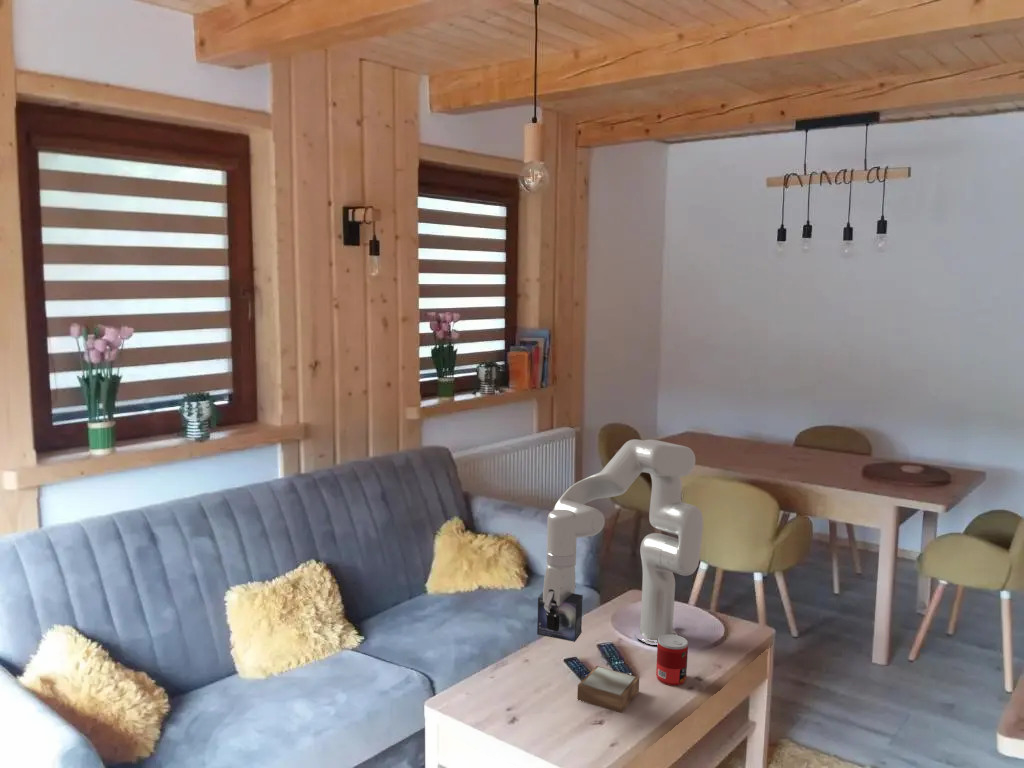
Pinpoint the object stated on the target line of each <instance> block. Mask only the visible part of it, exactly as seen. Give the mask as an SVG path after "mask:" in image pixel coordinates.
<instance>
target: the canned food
mask: <svg viewBox="0 0 1024 768" xmlns="http://www.w3.org/2000/svg"><path fill="white" fill-rule="evenodd" d="M656 647H657V649H656V669H655V671H656V673H655V674H656V675H655V676H656V679H657V680H658V681H659V682H660V683H661V684H664V685H667V686H675V687H676V686H681V685H683V684H684V683H685V682H686V680H687V673H688V672H687V667H688V654H689V653H688V651H689V641H688V640H687V639H686V638H685V637H683V636H681V635H678V634H677V635H671V634H668V635H662V636H660V637H659V638H658V645H657V646H656Z"/></svg>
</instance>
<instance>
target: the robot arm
mask: <svg viewBox="0 0 1024 768" xmlns="http://www.w3.org/2000/svg"><path fill="white" fill-rule="evenodd" d="M695 465H696V456H695V453H694V451H693V450H692V448H690V447H688V446H684V445H682V444H676V443H672V442H667V441H663V440H662V441H661V440H659V439H658V440H657V439H645V440H643V439H637V438H636V439H633V438H632V439H629V440H628V441H626V442H625V443H624V444H623V445H622V446H621V447H620V449H618V451H617V452H616V453H615V455H614V456H613V457H612V458H611V459H610V460H609V461H608V463H607V464H606V465H605V466H604V467H603V468H602V470H601V471H599V472H598V473H594V474H592V475H589V476H587V477H586V478H584V479H583V478H582V479H581V480H579V481H577V482H575V483H574V484H572V485H571V486H570V487H568V489H566V490H565V492H564V493H563V494H562V495H561V496H560V498H559V499H558V500H557V502H556V503H555V505H554V507H553V510H551V511H550V512H549V513H548V515H547V522H546V523H547V527H546V528H547V529H546V530H547V532H546V563H545V564H546V569H545V573H544V579H543V590H542V592H543V602H544V603H545V604H544V608H545V610H546V615H547V629H550V630H554V631H558V630H559V616H558V612H559V607H560V605H562V603H563V601H564V600H566V599H567V598H568V597H569V596H570V595H572V594H576V588H577V584H576V565H577V539H578V538H585V537H587V538H588V537H592V536H593V537H594V536H596V535H598V534H599V533H600V532H601V531H602V530H603V528H604V527H605V522H606V518H605V515H604V514H603V512H602V511H601V510H599V509H598V508H595V507H593V506H589V505H586V503H589V502H591V501H594V500H599V499H605V498H612V497H613V498H614V497H618V496H621V495H623V494H625V493H626V492H627V491H628V490H629V488H630V487H631V486H632V484H633V483H635V481H636V480H637V479H638V477H639V476H640V475H641V474H642V473H646V474H649V475H650V478H651V479H650V480H651V494H650V503H649V514H648V517H649V518H648V519H649V524H650V525H651V526H652V527H653V528H655V529H657V530H659V531H661V532H665V533H668V534H671V535H676V536H677V537H678V538H677V537H674V536H670V535H666V534H663V533H658V532H652V533H649V534H646V536H644V538H643V539H642V540H641V542H640V549H639V551H640V558H641V567H642V568H641V569H642V586H641V607H640V626H638V627H637V628H640V629H639V630H640V634H641V635H642V636H644V637H645V638H647V639H650V640H657V642H656V643H658V638H659V637H660V636H662V635H668V634H671V635H678V633H677V632H676V631H675V630H673V629H674V612H675V611H674V610H675V592H676V579H675V575H674V574H677V575H681V576H685V577H686V576H690V575H693V574H694V573H695V572H696V570H697V568H698V566H699V563H700V558H701V548H702V541H703V530H704V516H703V513H702V512H701V510H700V508H698V507H697V506H695V505H694V504H690V503H688V502H687V503H686V502H683V501H682V485H683V484H682V478H681V477H686V476H688V475H689V474H690V473H692V472H693V470H694V468H695ZM553 600H554V601H556V602H557V604H555V603H552V601H553ZM551 605H553V606H556V608H555V611H554V609H553V608H551ZM642 640H644V639H642ZM644 641H646V642H651V643H655V642H654V641H649V640H644Z"/></svg>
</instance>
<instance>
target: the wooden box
mask: <svg viewBox="0 0 1024 768" xmlns="http://www.w3.org/2000/svg"><path fill="white" fill-rule="evenodd" d="M639 690H640V676H639V677H638V676H637V675H636V676H635V675H632V674H628V673H626V672H625V673H624V672H621V671H617V670H612V669H610V668H606V667H602V666H599V665H596V666H595V667H594V668H592V670H591V671H590V672H589V673H587V675H586V676H585V677H584V678H583V679H582V680H581V681H580V682H579V683H578V684H577V694H576V695H577V697H576V698H577V699H578V700H577V701H579V700H581V701H580V702H583V701H584V702H583V703H586V702H587V704H589V703H590V705H593V706H597V707H599V706H600V707H599V708H603V709H607V710H610V711H613V712H617V713H619V714H620V713H621V714H622V713H623V712H624V711H625V709H626V708H627V707H628V706H629V704H631V702H632V701H633V700H634V699H635V697H636V696H637V695H638V693H639Z"/></svg>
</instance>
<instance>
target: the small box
mask: <svg viewBox="0 0 1024 768" xmlns="http://www.w3.org/2000/svg"><path fill="white" fill-rule="evenodd" d="M583 598H584V596H583V594H578V593H574V594H572V595H570V596H569V597H568V598H567V599H566V600H564V601H563V603H562V605H560V607H559V612H558V616H559V630H558V631H554V630H550V629H547V615H546V610H545V608H544V604H545V603H544V602H543V591H542V592H541V593H540V594H539V596H538V597H537V622H536V623H537V628H536V634H537V635H538V636H542V637H543V636H544V637H548V638H554V639H559V640H563V641H568V642H569V641H570V642H573V643H575V642H576V641H577V640H578V639H579V637H580V635H581V634H582V631H583V630H582V626H583V625H582V622H583V621H582V620H583V619H582V618H583ZM552 603H555V604H557V602H556V601H554V600H553V601H552ZM551 608H553V609H554V611H555V608H556V606H553V605H551Z"/></svg>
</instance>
